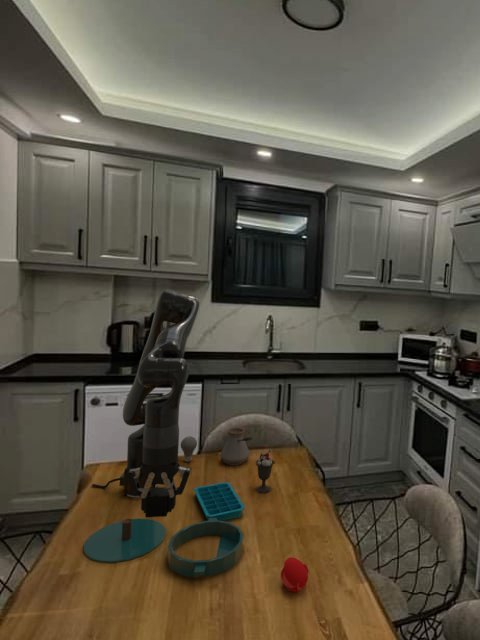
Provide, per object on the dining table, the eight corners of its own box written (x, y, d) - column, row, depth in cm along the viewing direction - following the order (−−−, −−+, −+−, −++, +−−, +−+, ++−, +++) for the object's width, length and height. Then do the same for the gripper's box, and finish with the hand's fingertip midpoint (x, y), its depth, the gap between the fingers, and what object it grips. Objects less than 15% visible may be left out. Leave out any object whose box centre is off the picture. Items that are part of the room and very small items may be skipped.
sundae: (270, 494, 151) (273, 453, 150) (251, 492, 151) (253, 451, 150) (275, 485, 158) (277, 446, 156) (256, 484, 158) (259, 444, 156)
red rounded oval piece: (313, 587, 107) (315, 564, 107) (294, 599, 103) (296, 575, 102) (294, 571, 113) (295, 549, 112) (275, 581, 108) (276, 559, 108)
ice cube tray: (228, 489, 152) (228, 481, 152) (245, 517, 135) (246, 508, 135) (193, 496, 145) (193, 487, 145) (206, 526, 129) (207, 517, 129)
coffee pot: (215, 458, 176) (217, 423, 175) (242, 453, 183) (244, 419, 182) (234, 479, 160) (237, 440, 158) (264, 473, 167) (266, 435, 166)
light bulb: (199, 460, 174) (200, 436, 173) (188, 465, 168) (189, 440, 167) (187, 457, 175) (188, 433, 175) (176, 462, 170) (177, 437, 169)
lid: (69, 567, 107) (70, 544, 107) (100, 523, 126) (101, 503, 126) (155, 562, 112) (156, 540, 111) (172, 520, 131) (173, 501, 130)
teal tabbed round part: (156, 589, 102) (157, 571, 102) (178, 531, 126) (179, 516, 125) (238, 583, 107) (239, 566, 106) (245, 528, 130) (245, 514, 130)
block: (145, 517, 100) (146, 496, 99) (150, 507, 104) (151, 487, 104) (166, 516, 101) (167, 496, 100) (170, 506, 105) (171, 486, 105)
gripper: (196, 435, 106) (193, 501, 108) (132, 435, 103) (130, 504, 104) (190, 447, 99) (187, 518, 100) (122, 447, 96) (119, 521, 97)
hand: (158, 510), depth 102 cm, fingers closed on block, 4 cm apart
